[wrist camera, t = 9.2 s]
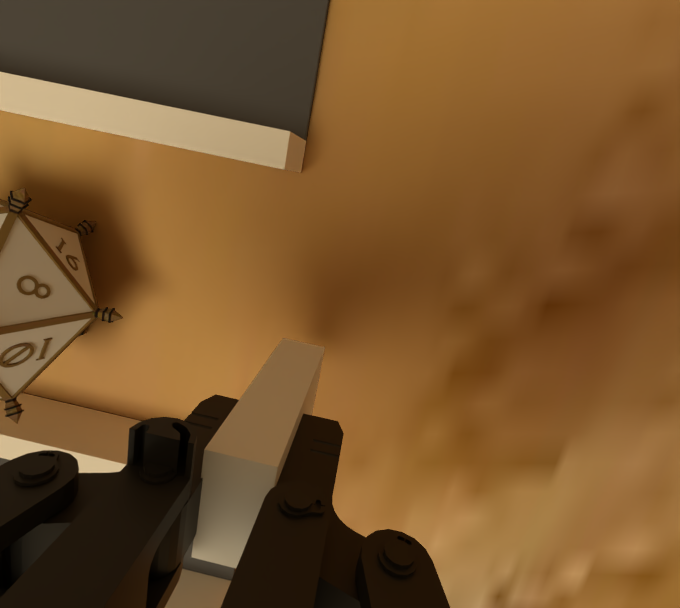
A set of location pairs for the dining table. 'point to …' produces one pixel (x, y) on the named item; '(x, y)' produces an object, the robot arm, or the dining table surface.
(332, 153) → the dining table surface
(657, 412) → the dining table surface
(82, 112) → the trap box
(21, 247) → the game die
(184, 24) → the pads
